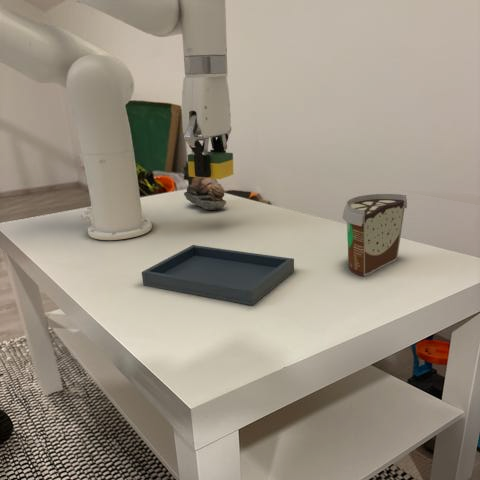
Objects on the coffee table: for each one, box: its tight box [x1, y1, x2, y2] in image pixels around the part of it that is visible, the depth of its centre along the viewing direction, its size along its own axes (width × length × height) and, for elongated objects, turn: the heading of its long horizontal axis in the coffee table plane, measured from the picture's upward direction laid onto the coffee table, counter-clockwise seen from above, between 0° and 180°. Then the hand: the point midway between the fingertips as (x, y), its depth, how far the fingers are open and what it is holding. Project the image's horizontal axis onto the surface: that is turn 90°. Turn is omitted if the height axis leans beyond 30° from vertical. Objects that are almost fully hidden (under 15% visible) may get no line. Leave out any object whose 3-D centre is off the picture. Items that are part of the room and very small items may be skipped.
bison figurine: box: [182, 160, 227, 211], centre depth 115 cm, size 12×7×10 cm, turn 39°
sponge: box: [187, 150, 234, 180], centre depth 97 cm, size 7×5×4 cm
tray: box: [141, 244, 295, 306], centre depth 77 cm, size 19×14×2 cm
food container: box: [342, 193, 408, 278], centre depth 78 cm, size 12×6×10 cm, turn 134°
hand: (211, 173), depth 97 cm, fingers closed on sponge, 5 cm apart
